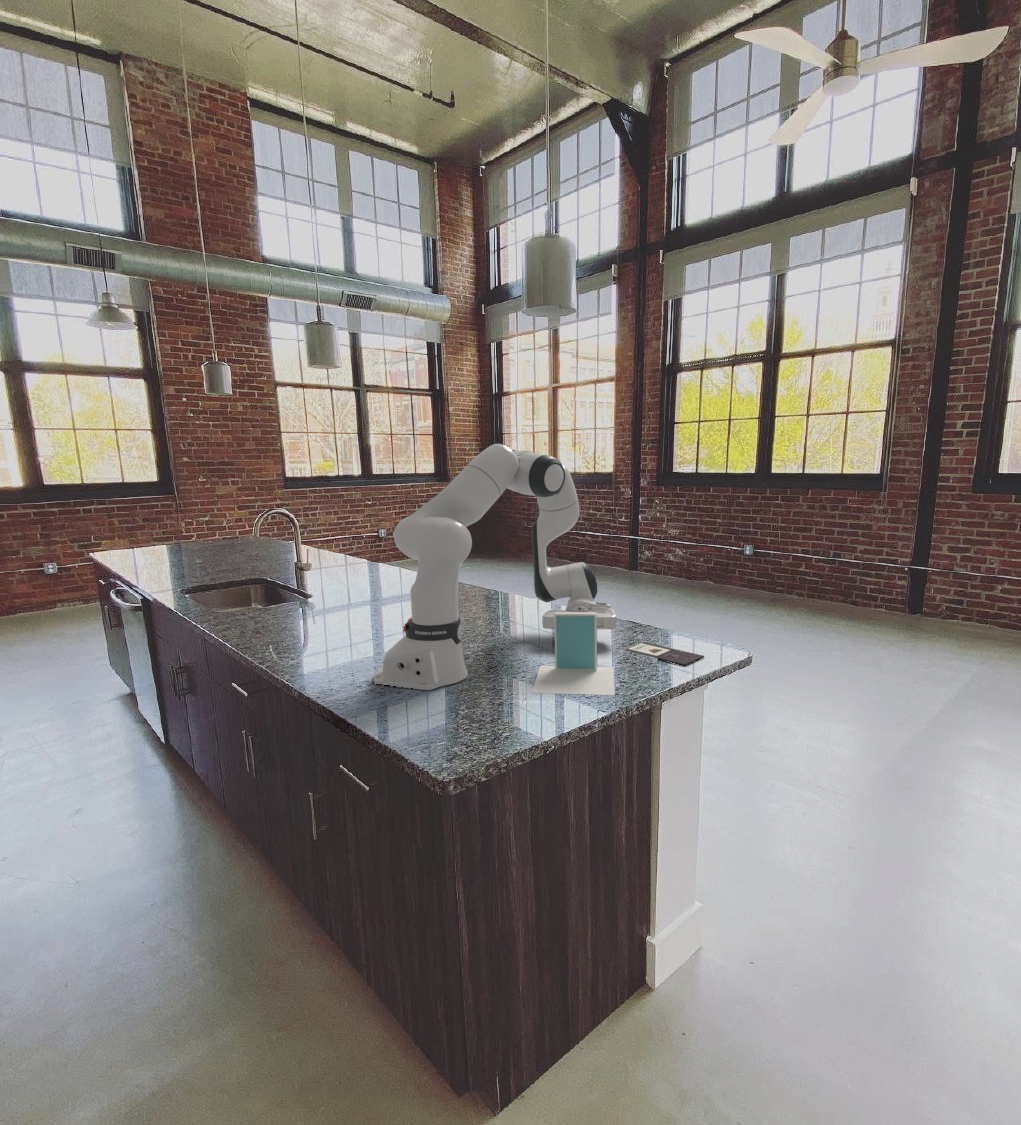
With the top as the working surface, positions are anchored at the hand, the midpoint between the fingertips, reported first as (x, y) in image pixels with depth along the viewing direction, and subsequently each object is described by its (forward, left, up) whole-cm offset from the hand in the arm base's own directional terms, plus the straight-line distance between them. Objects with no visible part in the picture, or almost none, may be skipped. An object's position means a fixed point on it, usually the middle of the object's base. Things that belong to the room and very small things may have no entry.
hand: (578, 627), depth 157 cm
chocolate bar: (+22, +1, -8) cm, 23 cm away
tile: (0, -13, -7) cm, 15 cm away
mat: (0, -20, -7) cm, 21 cm away
